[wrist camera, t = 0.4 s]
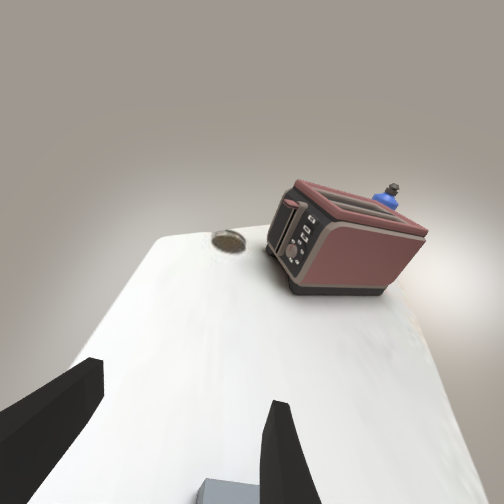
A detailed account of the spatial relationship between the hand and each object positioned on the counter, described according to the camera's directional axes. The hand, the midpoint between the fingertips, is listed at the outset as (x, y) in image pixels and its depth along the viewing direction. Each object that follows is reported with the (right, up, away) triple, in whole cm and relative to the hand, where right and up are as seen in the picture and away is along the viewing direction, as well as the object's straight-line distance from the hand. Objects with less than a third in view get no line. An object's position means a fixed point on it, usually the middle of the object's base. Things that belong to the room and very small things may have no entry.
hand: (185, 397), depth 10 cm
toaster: (+20, 0, +54) cm, 58 cm away
